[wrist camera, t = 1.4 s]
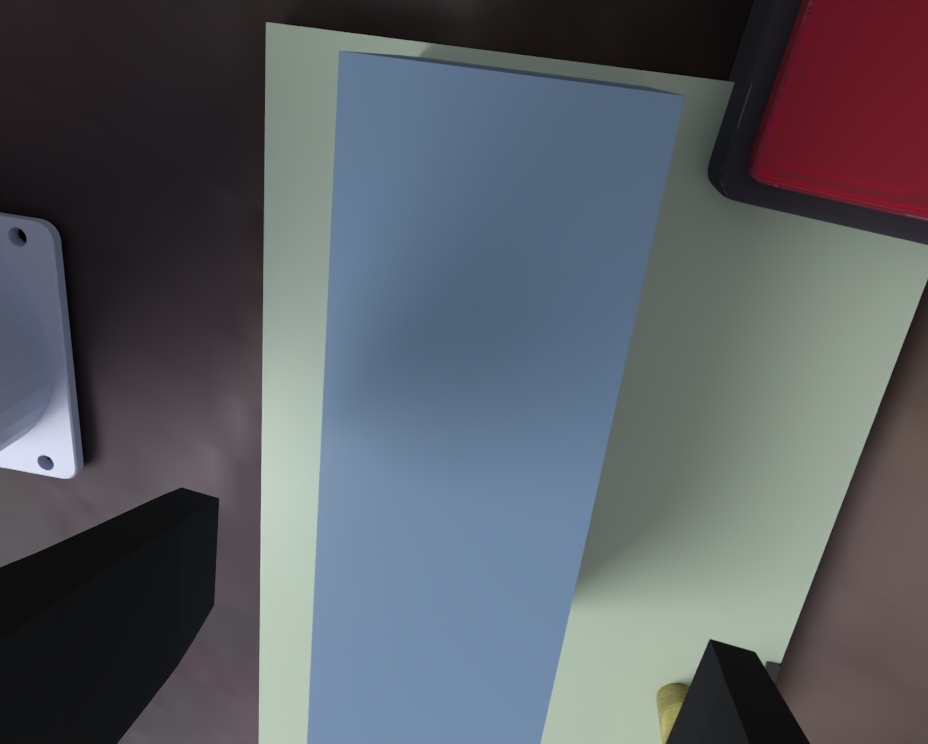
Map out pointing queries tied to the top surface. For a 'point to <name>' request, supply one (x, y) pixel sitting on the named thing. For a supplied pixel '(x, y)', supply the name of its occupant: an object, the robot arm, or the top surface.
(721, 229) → the board
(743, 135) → the calculator
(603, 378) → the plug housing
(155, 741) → the top surface
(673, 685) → the header pins
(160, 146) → the top surface
